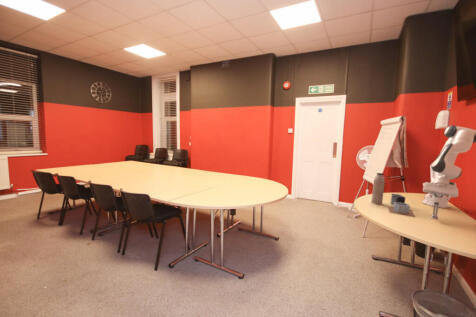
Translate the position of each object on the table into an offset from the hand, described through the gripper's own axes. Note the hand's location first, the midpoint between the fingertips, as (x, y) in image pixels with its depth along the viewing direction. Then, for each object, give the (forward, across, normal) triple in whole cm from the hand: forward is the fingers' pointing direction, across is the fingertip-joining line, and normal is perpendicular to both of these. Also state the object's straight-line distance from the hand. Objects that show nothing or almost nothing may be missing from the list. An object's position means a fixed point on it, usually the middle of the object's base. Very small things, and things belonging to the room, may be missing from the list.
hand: (439, 198), depth 168 cm
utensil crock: (+16, -21, +3) cm, 27 cm away
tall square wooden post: (+16, -1, +4) cm, 17 cm away
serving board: (+17, -21, +4) cm, 28 cm away
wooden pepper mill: (+10, -39, +12) cm, 42 cm away
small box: (+6, -25, +16) cm, 30 cm away
